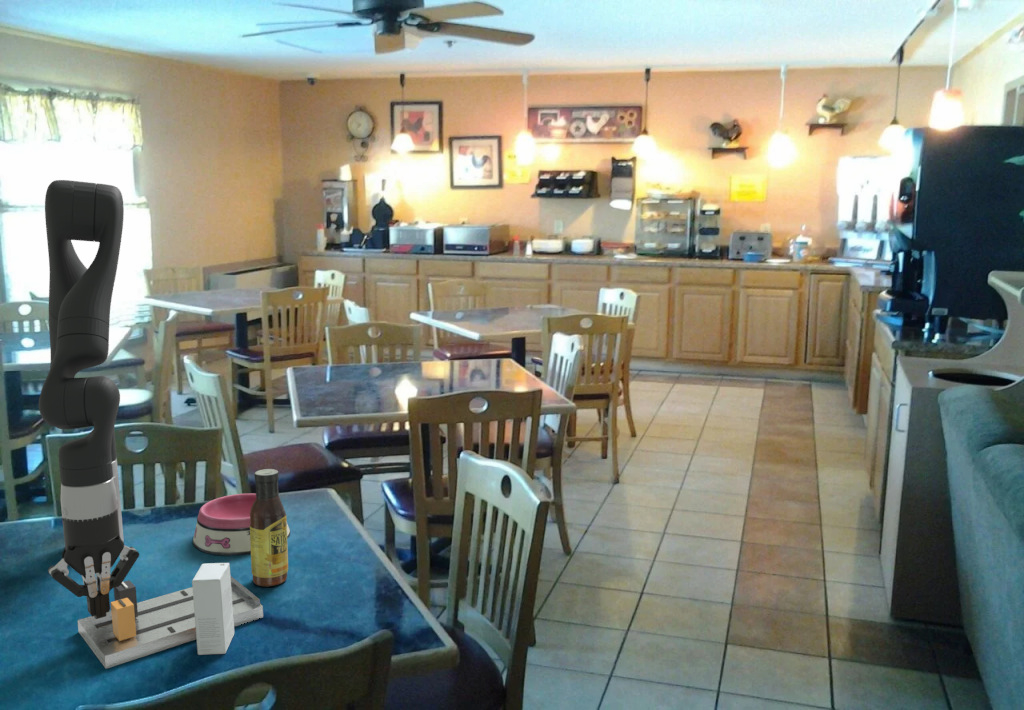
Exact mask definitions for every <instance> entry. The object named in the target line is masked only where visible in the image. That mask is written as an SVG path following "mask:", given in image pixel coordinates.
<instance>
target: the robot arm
mask: <svg viewBox="0 0 1024 710" xmlns="http://www.w3.org/2000/svg"><path fill="white" fill-rule="evenodd" d="M122 194H123V193H122V191H121V190H120V189H119V188H118V187H117V186H115V185H110V184H105V183H96V182H89V181H88V182H87V181H77V180H70V179H69V180H67V179H59V180H57V179H56V180H53V181H52V182H51V183H50V184H49V185H48V187H47V189H46V193H45V199H44V217H45V218H44V219H45V229H46V240H47V249H48V261H49V263H48V266H49V283H48V284H49V285H48V286H49V288H48V329H49V330H48V331H49V332H48V333H49V346H50V347H49V348H50V362H49V363H50V367H49V371H48V373H47V376H46V378H45V380H44V382H43V385H42V387H41V390H40V393H39V398H38V411H39V413H40V417H42V420H43V421H44V422H45V423H46V424H47V425H49V426H51V427H56V429H60V430H73V429H81V428H90V427H93V429H92V430H91V432H89V433H88V434H87V435H86V436H83V437H80V438H76V439H73V440H70V441H67V442H65V443H62V445H61V446H60V447H59V449H58V455H57V456H58V465H59V467H58V468H59V477H60V507H61V510H60V511H61V520H62V527H63V528H62V529H63V540H64V549H63V551H62V554H61V559H60V561H58V562H57V563H56V564H55V565H50V566H49V567H48V569H47V572H48V574H49V575H50V576H51V578H52V579H54V581H56V582H58V583H59V585H62V587H64V588H65V589H66V590H68V591H70V592H71V593H72V594H73V595H74V596H76V597H77V598H81V597H86V605H87V611H88V614H90V616H94V617H95V619H99V618H102V617H106V613H107V612H109V611H111V602H110V592H111V590H112V589H113V590H114V587H119V586H120V585H121V583H122V582H124V581H125V578H126V577H127V575H128V574H129V573H130V571H131V570H132V568H133V567H134V565H135V564H136V562H137V560H138V559H139V557H140V553H139V551H138V550H137V549H136V548H135V547H133V546H127V545H125V542H124V541H125V540H124V531H123V530H124V527H123V517H122V516H123V515H122V505H121V504H122V503H121V491H120V481H119V478H120V477H119V469H118V467H119V466H118V455H117V446H116V445H117V444H116V431H115V424H116V421H117V416H118V411H119V409H120V404H121V403H120V402H121V393H120V390H119V387H118V386H117V384H116V383H115V381H113V380H112V379H111V378H109V377H107V376H102V375H100V376H99V375H97V376H95V375H94V376H89V377H88V376H87V377H76V375H77V374H78V373H79V372H81V371H83V370H87V369H89V368H93V367H94V368H95V367H97V366H100V365H102V364H104V363H105V362H106V361H107V359H108V357H109V356H108V355H109V351H110V349H109V347H110V344H109V343H110V341H109V339H110V319H111V316H110V315H111V305H112V297H113V291H114V286H115V281H116V275H117V270H118V264H119V257H120V251H121V245H122V234H123V229H124V228H123V227H124V215H125V214H124V210H125V209H124V200H123V198H124V197H123V195H122ZM72 241H82V242H94V243H95V242H96V243H98V249H97V251H96V254H95V257H94V259H93V261H92V262H91V263H90V265H89V266H88V268H87V266H85V264H84V263H83V262H82V261H81V259H80V258H79V256H78V254H77V252H76V250H75V247H74V244H73V243H72ZM118 558H119V560H118ZM117 560H118V562H117V564H116V565H115V563H116V561H117ZM114 565H115V567H114ZM68 566H69V567H70V568H72V570H74V571H75V572H76V573H77V574H78V575H80V576H81V578H82V582H83V583H82V584H79V583H78V582H77V581H75V580H74V579H73V578H71V577H70V576H69V573H70V572H69V569H68ZM113 567H114V568H113ZM111 568H113V570H112V571H111Z"/></svg>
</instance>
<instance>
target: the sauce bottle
mask: <svg viewBox="0 0 1024 710" xmlns="http://www.w3.org/2000/svg"><path fill="white" fill-rule="evenodd" d="M253 477H254V482H255V494H256V497H257V498H256V500H255V502H254V503H253V505H252V507H251V510H250V544H251V554H250V564H251V565H250V567H251V568H250V569H251V574H252V581H253V583H254V584H255V585H256V586H259V587H266V588H268V587H275V586H278V585H281V584H283V583H284V582H286V580H287V578H288V571H289V549H288V538H287V524H288V522H287V521H288V519H287V516H288V515H287V513H286V510H285V508H284V505H283V502H282V500H281V498H280V495H279V494H280V493H279V492H280V491H279V479H280V475H279V471H278V470H277V469H274V468H265V469H259V470H257V471H255V472H254V476H253Z"/></svg>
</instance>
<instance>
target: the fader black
mask: <svg viewBox="0 0 1024 710" xmlns="http://www.w3.org/2000/svg"><path fill="white" fill-rule="evenodd" d="M113 596H114V597H113V598H114V601H117V600H118V599H124V598H128V599H129V600H130V601H131V602H132V603H133V604H134V613H135V617H138V610H137V603H138V599H137V587H136V585H135V584H133V582H132V581H131V580H130V579H128V580H126V581H125V580H124V581H123V582H122V583H121V585H120V586H119V587H114V588H113Z"/></svg>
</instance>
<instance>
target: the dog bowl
mask: <svg viewBox="0 0 1024 710" xmlns="http://www.w3.org/2000/svg"><path fill="white" fill-rule="evenodd" d="M256 498H257V497H256V493H251V492H250V493H237V494H230V495H225V496H221V497H217V498H215V499H212V500H210V501H207V502H206V503H204V504H203V505H202V506H201V507H200V509H199V511H198V515H197V517H196V524H195V525H196V526H195V528H194V533H193V539H192V544H193V547H195V549H197V550H198V551H200V552H202V553H206V554H209V555H212V556H213V555H214V556H222V555H223V556H224V555H225V556H224V557H226V556H227V557H229V556H231V555H232V556H231V557H233V555H235V556H245V555H251V544H250V510H251V507H252V505H253V503H254V502H255V500H256ZM290 536H291V530H290V527H289V525H288V523H287V539H289V537H290Z"/></svg>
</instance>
